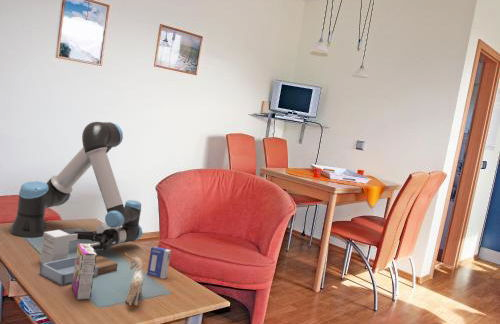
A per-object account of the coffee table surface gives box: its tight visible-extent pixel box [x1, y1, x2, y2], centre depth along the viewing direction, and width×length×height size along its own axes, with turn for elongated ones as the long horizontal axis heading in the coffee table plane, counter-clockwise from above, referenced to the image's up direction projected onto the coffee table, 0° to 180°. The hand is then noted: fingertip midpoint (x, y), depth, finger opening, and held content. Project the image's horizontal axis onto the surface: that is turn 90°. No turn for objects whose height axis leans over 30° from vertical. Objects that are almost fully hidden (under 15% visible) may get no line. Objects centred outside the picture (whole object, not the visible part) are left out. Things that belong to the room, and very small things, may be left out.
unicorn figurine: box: [124, 252, 145, 307], centre depth 162 cm, size 7×20×13 cm, turn 24°
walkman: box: [146, 245, 172, 280], centre depth 187 cm, size 8×3×12 cm, turn 78°
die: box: [94, 222, 111, 233], centre depth 220 cm, size 8×9×10 cm
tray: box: [39, 256, 99, 286], centre depth 172 cm, size 13×16×4 cm
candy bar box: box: [71, 242, 98, 301], centre depth 159 cm, size 11×5×16 cm, turn 30°
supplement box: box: [39, 229, 71, 264], centre depth 180 cm, size 7×7×13 cm
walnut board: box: [95, 254, 119, 277], centre depth 184 cm, size 12×10×3 cm
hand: (74, 243), depth 188 cm, fingers open, 13 cm apart
